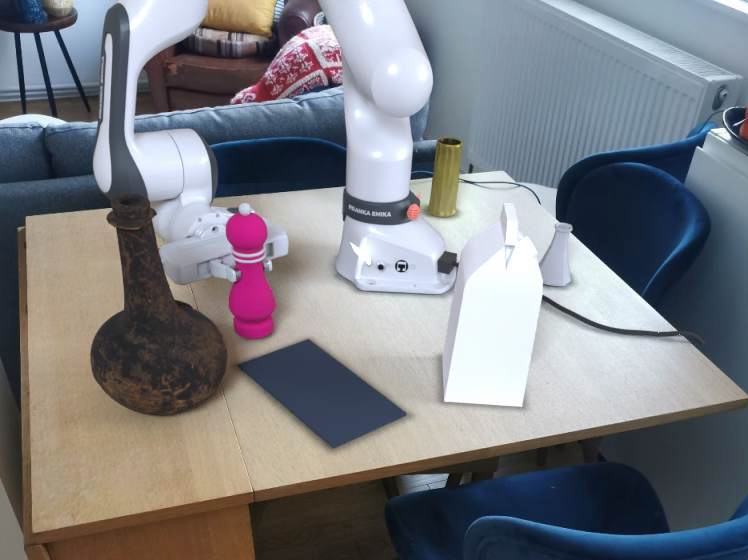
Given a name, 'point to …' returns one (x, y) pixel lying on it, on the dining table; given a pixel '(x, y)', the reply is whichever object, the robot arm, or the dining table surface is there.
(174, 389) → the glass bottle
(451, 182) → the vase
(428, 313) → the dining table surface
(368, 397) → the mat
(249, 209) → the pepper mill
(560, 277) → the flask
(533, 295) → the milk
